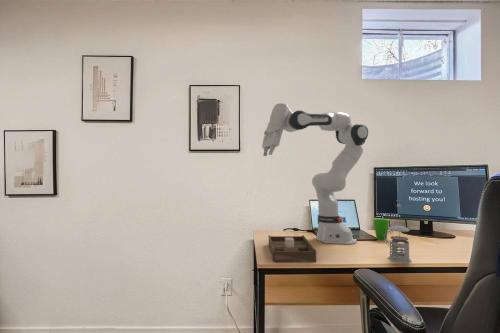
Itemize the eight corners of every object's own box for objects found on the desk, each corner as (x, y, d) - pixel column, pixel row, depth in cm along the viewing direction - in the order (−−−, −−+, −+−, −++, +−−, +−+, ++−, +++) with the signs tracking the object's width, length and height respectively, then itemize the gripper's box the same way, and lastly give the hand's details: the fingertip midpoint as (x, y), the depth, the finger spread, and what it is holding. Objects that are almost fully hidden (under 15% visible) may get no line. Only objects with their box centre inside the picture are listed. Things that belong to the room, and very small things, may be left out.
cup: (373, 240, 167) (372, 221, 167) (372, 236, 175) (372, 218, 175) (390, 241, 163) (390, 222, 163) (389, 237, 172) (389, 219, 172)
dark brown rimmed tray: (268, 244, 157) (268, 235, 157) (303, 244, 157) (303, 235, 157) (273, 262, 127) (273, 250, 127) (316, 261, 127) (316, 250, 127)
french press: (404, 264, 123) (403, 205, 124) (379, 257, 133) (378, 203, 133) (416, 260, 128) (415, 204, 129) (391, 254, 138) (391, 202, 139)
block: (285, 245, 146) (284, 237, 146) (292, 245, 146) (292, 237, 146) (286, 247, 142) (285, 239, 142) (294, 247, 142) (294, 239, 142)
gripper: (286, 130, 149) (279, 155, 148) (273, 135, 169) (267, 158, 168) (275, 126, 148) (267, 152, 147) (263, 132, 168) (257, 154, 166)
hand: (267, 155), depth 157 cm, fingers open, 8 cm apart
